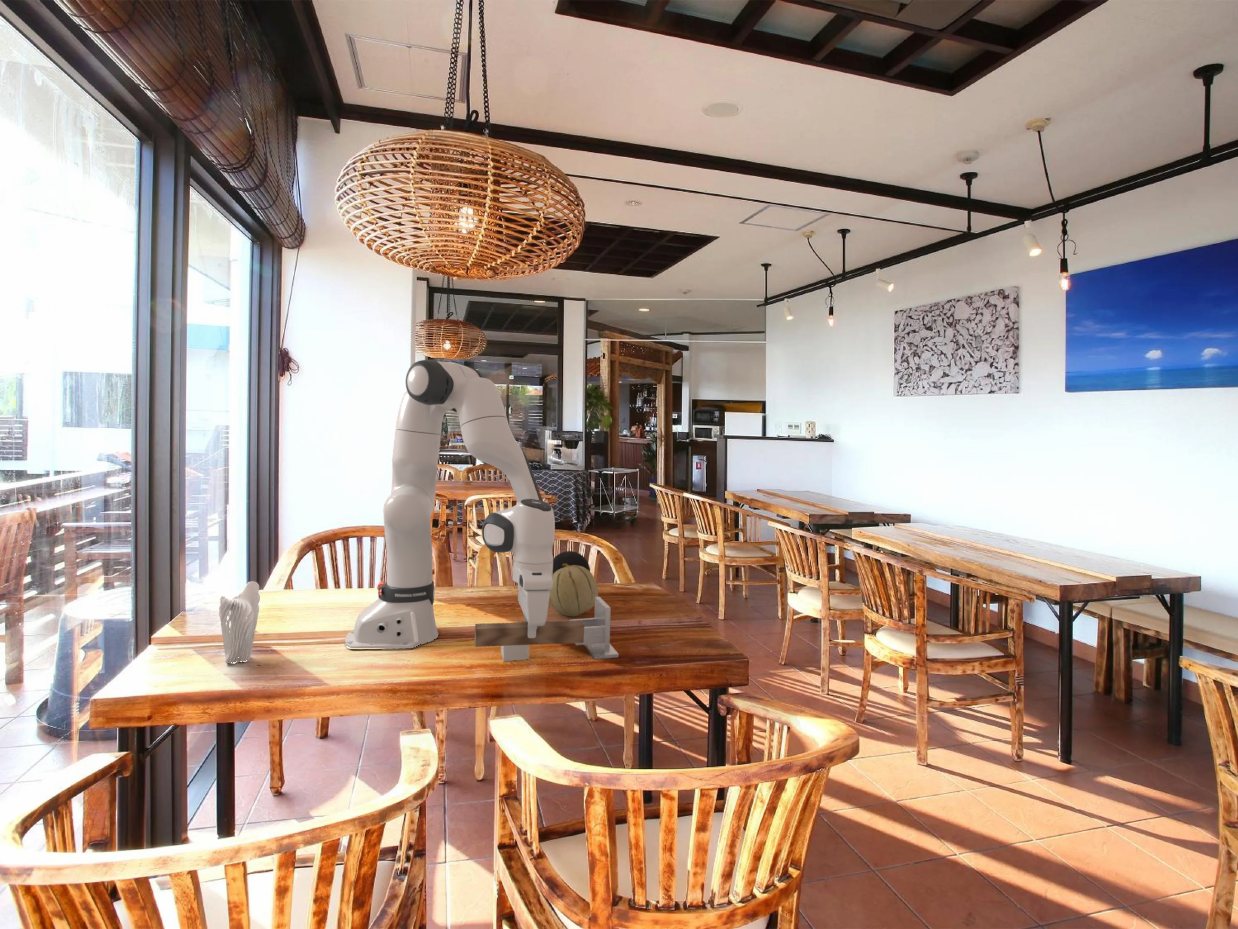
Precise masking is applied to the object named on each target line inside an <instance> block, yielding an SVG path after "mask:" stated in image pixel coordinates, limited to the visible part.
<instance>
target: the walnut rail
mask: <svg viewBox="0 0 1238 929" xmlns="http://www.w3.org/2000/svg"><path fill="white" fill-rule="evenodd" d="M527 628H528V622H524V621H523V622H497V623H475V624H474V646H475V648H481V647H501V646H512V645H529V646H533V645H534V646H535V645H557V644H561V645H562V644H575V643H583V642H584V624H583V623H582V621H569V620H566V621H565V620H564V621H563V620H562V621H561V620H560V621H546V623H545V625H544V626H537V630H536V637H535V638H528V636H527Z"/></svg>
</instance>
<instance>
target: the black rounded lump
mask: <svg viewBox="0 0 1238 929" xmlns="http://www.w3.org/2000/svg"><path fill="white" fill-rule="evenodd" d="M564 563H565V564H567V565H570V566H572V565H577V566H582V567H584V568H586V569H587V570H589V571H590V572H591V567H590V564H589V562H588V560H587V559H586V558H585V557H584V556H583V555H582V554H581V553H579V552H577V551H573V550H566V551H563V552H559V553H558V554H556V556H553V574H554V573H555V572H556V571H557V570H559V569H561V568H564V567H565V566H562V564H564Z"/></svg>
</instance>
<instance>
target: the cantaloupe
mask: <svg viewBox="0 0 1238 929" xmlns="http://www.w3.org/2000/svg"><path fill="white" fill-rule="evenodd" d="M562 566H565V567H564V568H561V569H559V570H557V571H556V572H555V573H554V574H553V575H552V578H553V589H552V590H549V591H550V596H549V604H550V605H551V607H552V608H553V609H554V610H555V611H556V612H558V613H559V615H562V616H566V617H579V616H581V615H583V614H585V613H587V612H589V611H591V609H593V607H595V597H599V589H598V587H599V586H598V583H597V581H596V580H597V579H596V578H595V576H594V575H593V573H591V570H590V571H589V570H587V569H586V568H584V567H582V566H577V565H572V566H570V565H567V564H565V563H564V564H562Z"/></svg>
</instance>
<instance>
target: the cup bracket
mask: <svg viewBox="0 0 1238 929" xmlns="http://www.w3.org/2000/svg"><path fill="white" fill-rule="evenodd" d="M568 621H582V623H583V624H584V642H583V643H574V644H575V646H582V645H583V646H584V647H585V649H586V650H587V651H588V653H589V654H590V655H591V657H592V658H593V659H594V660H603V659H604V660H605V659H615V658H619V652H618V651H617V650H616V649H615V648H614V647H613V645H612V644H611V606H609V605H608V604H607V602H606V601H605V600H603V599H602V597H601V596H598V597H595V605H594V617H589V618H574V619H572V618H571V619H569V620H568Z"/></svg>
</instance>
